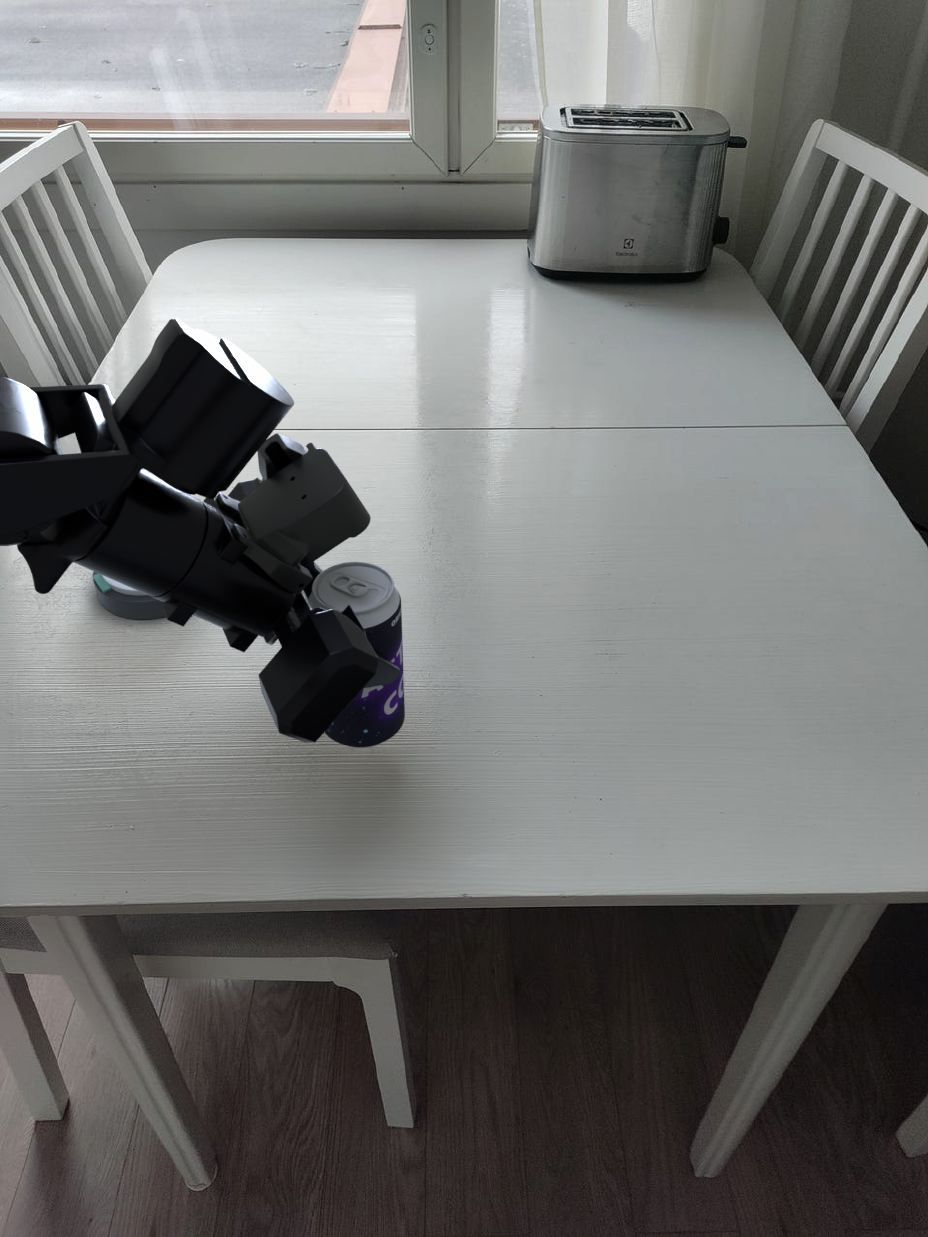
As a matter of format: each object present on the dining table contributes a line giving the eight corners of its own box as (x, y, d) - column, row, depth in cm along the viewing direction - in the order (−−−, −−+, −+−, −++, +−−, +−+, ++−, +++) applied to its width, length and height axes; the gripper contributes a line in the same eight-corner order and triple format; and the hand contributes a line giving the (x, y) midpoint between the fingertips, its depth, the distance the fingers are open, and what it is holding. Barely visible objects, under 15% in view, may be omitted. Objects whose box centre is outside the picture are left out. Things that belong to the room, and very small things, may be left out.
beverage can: (368, 770, 62) (358, 628, 54) (303, 732, 64) (285, 591, 57) (421, 719, 65) (419, 579, 58) (358, 685, 68) (347, 546, 60)
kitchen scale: (122, 635, 80) (115, 611, 79) (81, 576, 87) (74, 553, 85) (231, 591, 85) (227, 568, 83) (185, 538, 91) (180, 516, 90)
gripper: (325, 523, 42) (531, 644, 53) (221, 356, 55) (403, 480, 66) (177, 702, 45) (403, 783, 55) (110, 502, 57) (303, 599, 68)
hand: (378, 647), depth 61 cm, fingers closed on beverage can, 5 cm apart
